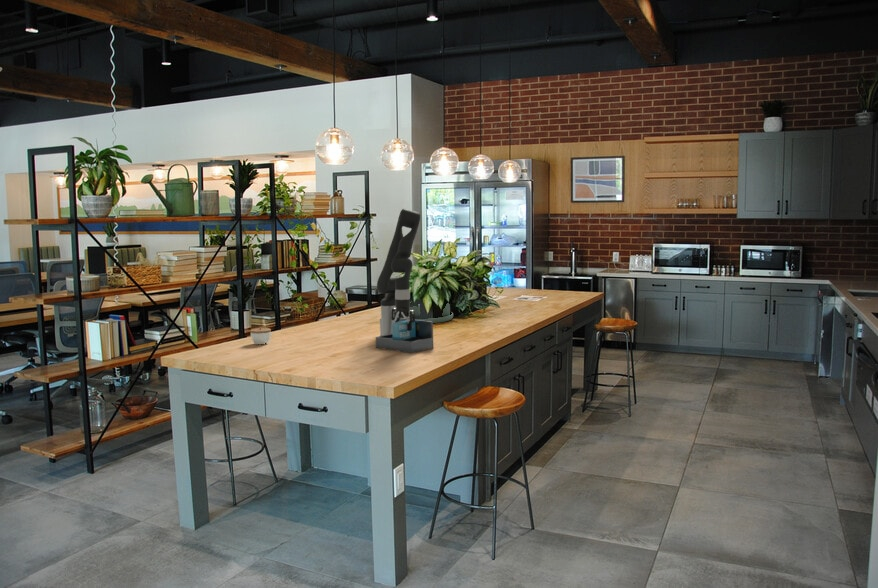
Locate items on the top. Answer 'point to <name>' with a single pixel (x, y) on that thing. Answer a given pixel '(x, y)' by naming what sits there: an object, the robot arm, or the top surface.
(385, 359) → the top surface
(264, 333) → the lidded jar
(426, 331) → the rack
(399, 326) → the blue flat rounded slab
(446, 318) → the tea set
